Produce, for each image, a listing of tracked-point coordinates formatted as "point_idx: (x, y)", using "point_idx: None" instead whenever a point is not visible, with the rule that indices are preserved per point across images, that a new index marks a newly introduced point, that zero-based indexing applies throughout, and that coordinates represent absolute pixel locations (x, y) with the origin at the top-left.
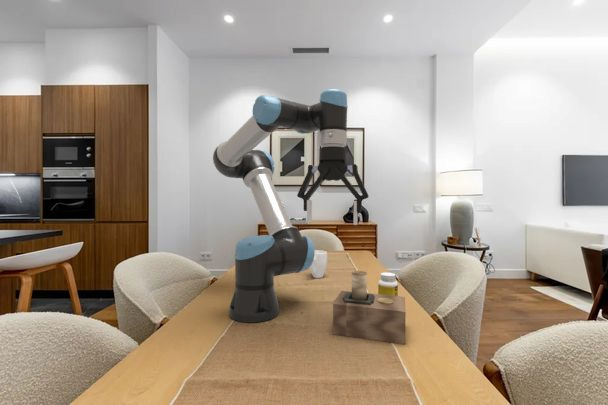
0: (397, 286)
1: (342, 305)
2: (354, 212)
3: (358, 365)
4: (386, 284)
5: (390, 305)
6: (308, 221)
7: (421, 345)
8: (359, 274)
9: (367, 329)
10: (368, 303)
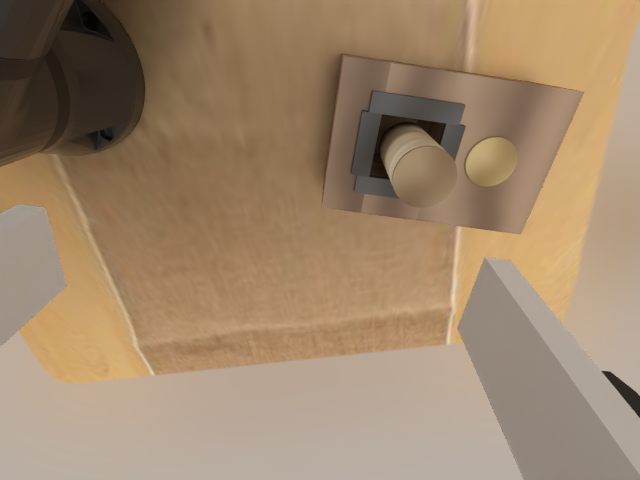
0: None
1: (349, 210)
2: (508, 424)
3: (375, 286)
4: None
5: (494, 193)
6: (50, 294)
7: None
8: (420, 207)
9: None
10: None
